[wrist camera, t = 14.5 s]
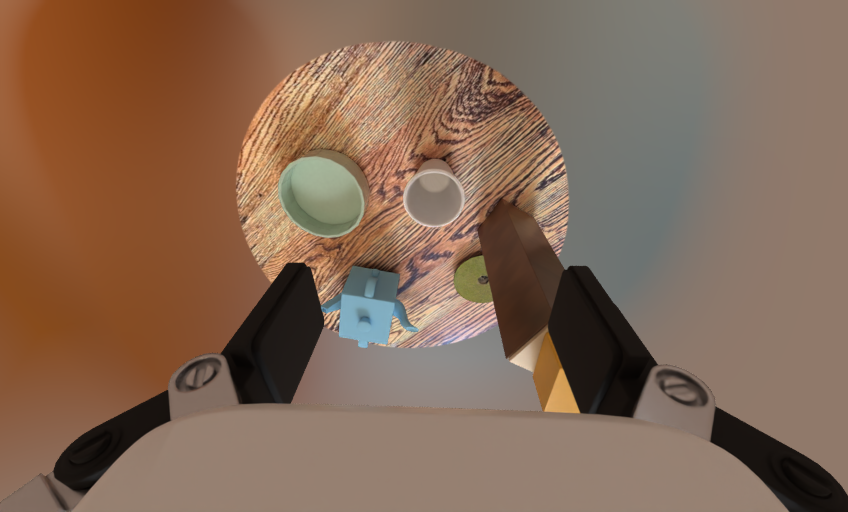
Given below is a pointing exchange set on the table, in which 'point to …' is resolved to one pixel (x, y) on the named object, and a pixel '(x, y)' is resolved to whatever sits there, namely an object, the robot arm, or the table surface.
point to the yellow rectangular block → (552, 381)
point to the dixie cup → (434, 194)
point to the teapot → (368, 306)
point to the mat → (473, 281)
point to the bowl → (324, 193)
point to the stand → (519, 280)
